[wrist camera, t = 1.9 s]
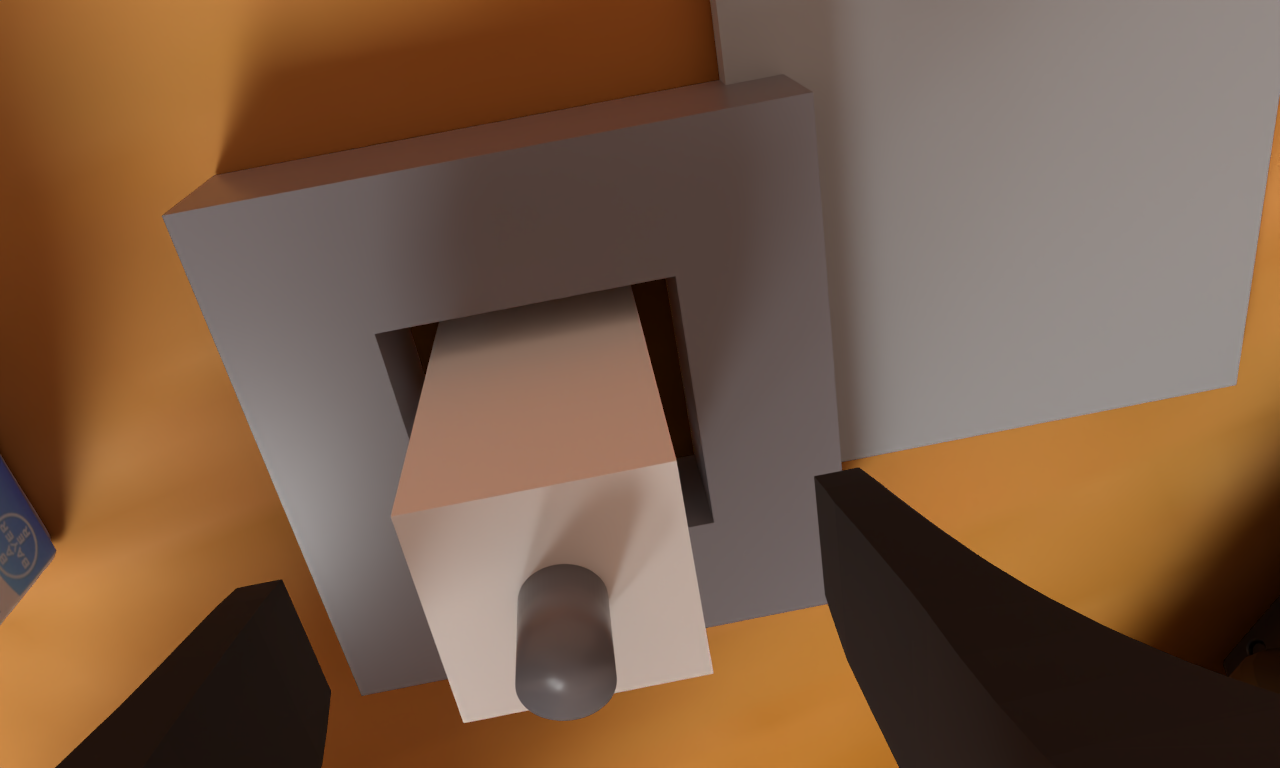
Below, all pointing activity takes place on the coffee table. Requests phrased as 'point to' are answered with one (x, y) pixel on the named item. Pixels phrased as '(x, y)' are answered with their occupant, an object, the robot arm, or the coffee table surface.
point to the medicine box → (19, 543)
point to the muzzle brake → (1259, 653)
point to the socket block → (520, 275)
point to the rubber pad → (1025, 198)
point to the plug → (549, 512)
